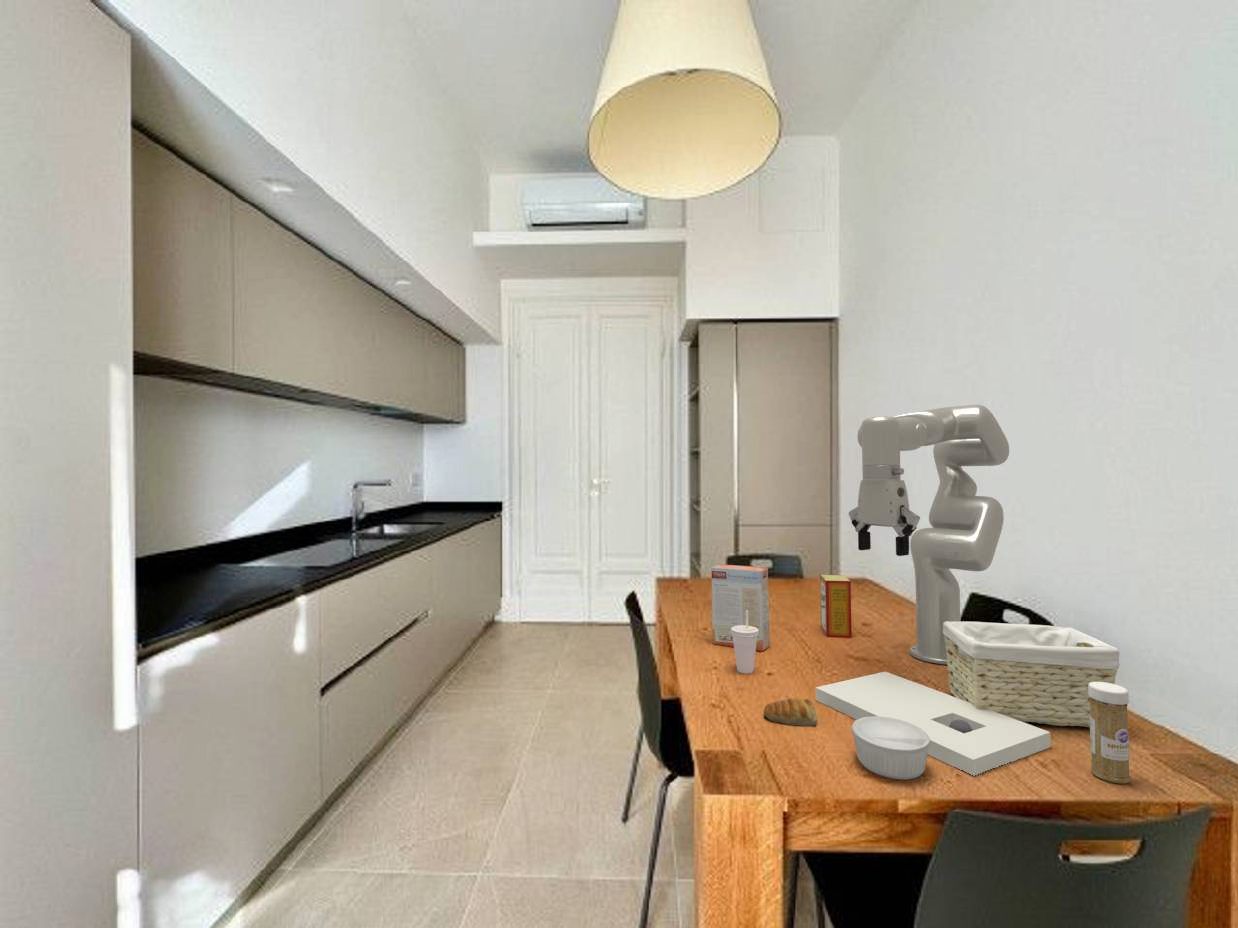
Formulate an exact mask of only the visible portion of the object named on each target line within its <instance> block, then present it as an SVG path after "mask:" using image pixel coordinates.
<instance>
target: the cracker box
mask: <svg viewBox="0 0 1238 928" xmlns="http://www.w3.org/2000/svg"><path fill="white" fill-rule="evenodd" d="M768 569H769V568H768V567H763V566H762V567H761V566H759V567H758V566H751V565H750V566H748V565H734V564H717V565H713V566H711V617H712V622H711V623H712V628H711V629H712V644H713V645H719V646H725V647H732V648H734V643H733V636H732V634H731V628H732V627H733V626H739V625H746V610H748V626H753V627H756V628H757V629H758V630H759V634H758V635H757V643H756V650H757V651H758V652H764V651H765V650H767V649H768V648H769V647H770V645H771V644H770V610H769V609H770V606H769V604H770V601H769V598H770V597H769V570H768Z"/></svg>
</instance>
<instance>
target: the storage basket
mask: <svg viewBox="0 0 1238 928" xmlns="http://www.w3.org/2000/svg"><path fill="white" fill-rule="evenodd" d="M943 634H944V635H945V636H944V639H945V643H946V653H947V662H948V665H947V671H948V675H947V676H948V684H949V685H948V688H949V691H950V693H951V695H953V697H956V698H959V699H961V700H964V701H967V702H969V703H972V704H973V705H974V706H975V708H977V709H985V710H991V711H994V712H997V713H999V714H1002V715H1005V716H1008V717H1010V718H1013V719H1016V720H1018V721H1021V722H1024V723H1037V724H1044V725H1045V724H1046V725H1049V726H1059V727H1066V726H1070V727H1075V726H1078V727H1085V728H1090V699H1089V697H1090V696H1089V695H1088V684H1089V683H1090V682H1106V683H1111V684H1115V683H1116V676H1117V672H1118V670H1119V668H1120V653H1121V652H1120V651H1119V649H1118V648H1117V647H1115V646H1112V645H1110V644H1108V643H1106V642H1104V641H1102V640H1099V639H1098V638H1096V637H1093V636H1091V635H1089V634H1086V633H1084V632H1081V631H1080V630H1078V629H1076V628H1073V627H1064V626H1063V627H1062V626H1054V625H1045V624H1044V625H1043V624H1029V623H1028V624H1027V623H1025V624H1024V623H1002V622H1001V623H1000V622H985V621H983V622H982V621H960V622H956V621H953V622H949V621H946V622H944V623H943Z"/></svg>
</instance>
